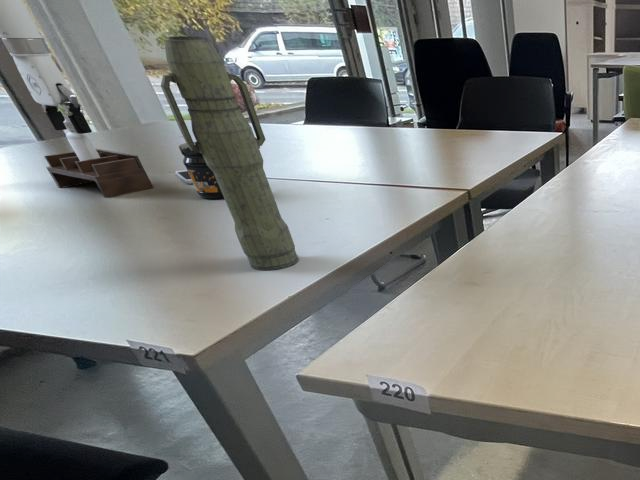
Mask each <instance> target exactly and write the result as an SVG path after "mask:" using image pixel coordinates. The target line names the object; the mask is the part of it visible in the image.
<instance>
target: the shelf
mask: <svg viewBox="0 0 640 480" xmlns="http://www.w3.org/2000/svg"><path fill="white" fill-rule="evenodd" d="M95 149H96V151H97V152H98V154H99V156H100V158H96V159H89V160H83V161H80V160H79V158H78V157H77V155H76V153H75V151H74V150H73V151H69V152H62V153H55V154H48V155H44V159H45V160H46V162H47V164H48V166H46V167H45V168H46V170H47V171H48V173H49V174H50V176H51V178H52V180H53V181H54V183H55V185H56V186H57V188H60V187H62V188H66V187H65V186H67V187H71V185H72V186H77V185H76V184H78V185H81V184H80V183H83V184H86V183H85V182H88V183H91V182H90V181H94V182H95V184H96V185H97V187H98V189H99V190H100V191H99V192H101V194H102V196H103V197H104V198H106V197H108V198H111V197H110V196H112V197H118V196H121V194H122V195H126V193H127V194H131V193H135V192H136V193H137V192H140V191H145V190H149V189H153V188H154V186H153V184H152V182H151V179H150V177H149V175H148V174H147V172H146V170H145V168H144V166H143V164H142V162H141V160H140V158H139V156H138V155H136V154H130V153H124V152H118V151H113V150H106V149H101V148H95Z"/></svg>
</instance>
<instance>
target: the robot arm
mask: <svg viewBox="0 0 640 480" xmlns="http://www.w3.org/2000/svg"><path fill="white" fill-rule="evenodd" d="M0 39H1V41H2V42H3V44H4V46H5V48H6V50H7V52H8V53H9V54H10V56H11V57H12V59H13V62H14V65H15V66H16V69H17V71H18V73H19V75H20V77H21V78H22V80H23V83H24V84H25V86H26V88H27V90H28V92H29V94H30V95H31V97H32V99H33V101H35V103H37V104H39V105H40V106H41V109H42V111H43V112H45V115H46V116H47V118H48V120H49V121H50V123H51V125H52V127H53V129H54V130H55V131H65V130H67V128H66V126H65V125H64V123H63V122H64V121H65V117H64V114H63V112H62V111H61V110H59V108H58V106H59V105H60V107H61V108H62V109H63V110H64V111H65V112H66V113H67V114H66V115H67V116H68V118H69V119H70V121H71V123H72V125H73V127H74V129H75V130H76V132H77V133H78V134H84V133H85V134H91V133H93V131H92V129H91V126H90V125H89V123H88V121H87V119H86V117H85V115H84V112H83V110H82V109H81V105H80V103H79V101H78V97H77V96H76V94H75V93H73V91H72V89H71V88H70V86H69V84H68V82H67V81H66V79H65V76H64V75H63V74H62V72H61V70H60V69H59V67H58V65H57V64H56V62H55V61H54V60H53V58H52V56H53V54H52V52H51V50H50V49H49V47H48V45H47V43H46V41H45V39H44V38H43V35H42V33H41V32H40V30H39V28H38V26H37V24H36V22H35V20H34V18H33V17H32V15H31V13H30V11H29V9H28V7H27V5H26V4H25V2H24V0H0ZM67 131H68V130H67Z"/></svg>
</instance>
